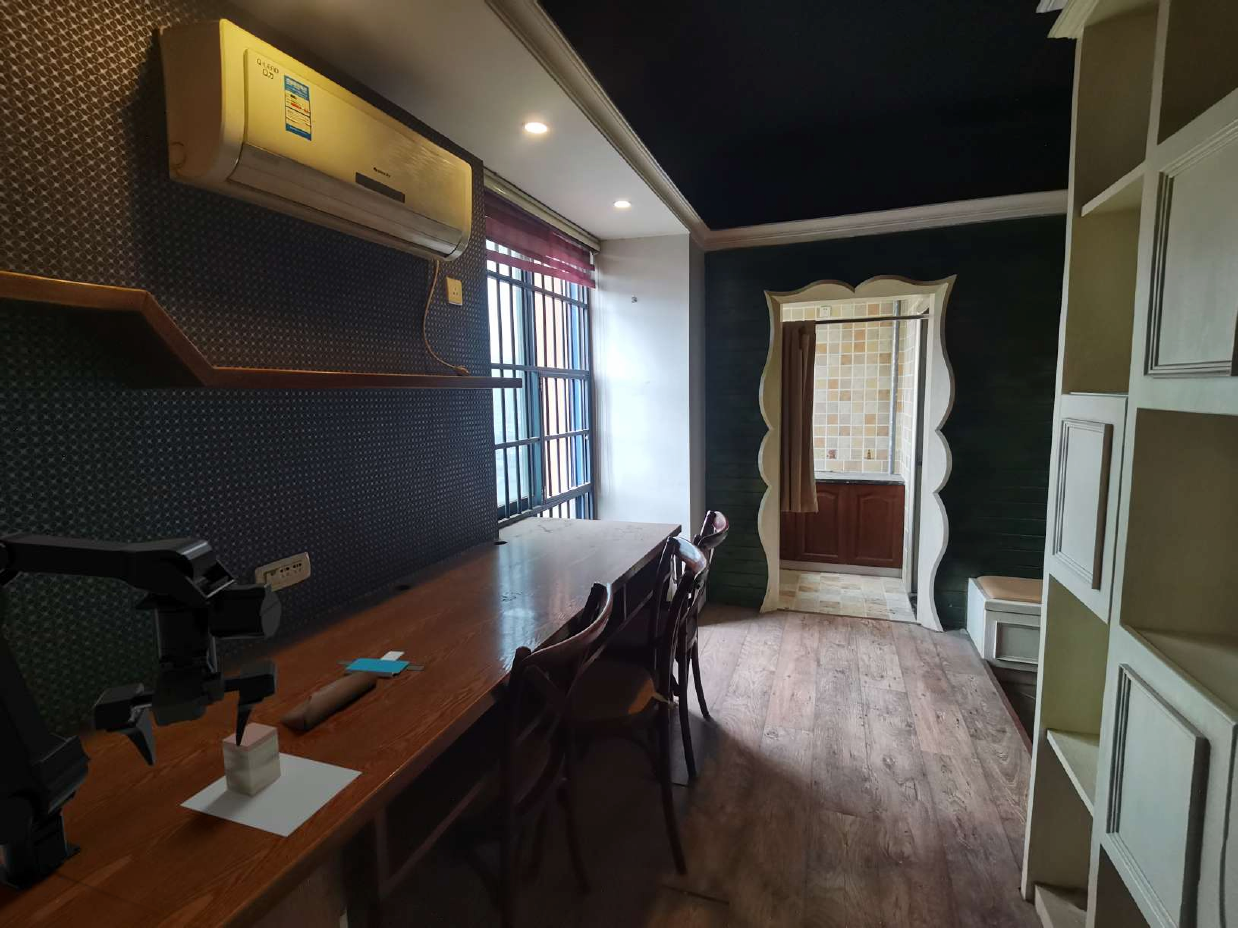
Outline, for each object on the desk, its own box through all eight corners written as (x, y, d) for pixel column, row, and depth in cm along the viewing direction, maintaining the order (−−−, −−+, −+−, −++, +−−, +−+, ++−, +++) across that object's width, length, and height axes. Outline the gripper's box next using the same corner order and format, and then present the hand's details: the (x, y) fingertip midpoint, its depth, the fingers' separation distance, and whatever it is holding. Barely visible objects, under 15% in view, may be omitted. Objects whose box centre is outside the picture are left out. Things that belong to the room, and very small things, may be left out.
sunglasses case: (344, 678, 122) (356, 654, 121) (369, 699, 121) (381, 675, 119) (270, 726, 105) (282, 699, 104) (298, 750, 104) (311, 723, 102)
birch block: (227, 789, 88) (222, 740, 87) (256, 769, 93) (252, 722, 92) (252, 796, 86) (247, 746, 85) (281, 775, 91) (276, 727, 90)
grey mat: (180, 807, 85) (179, 805, 85) (265, 751, 98) (265, 748, 98) (286, 839, 79) (286, 836, 79) (362, 774, 92) (362, 772, 92)
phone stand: (437, 657, 134) (437, 650, 133) (411, 683, 122) (410, 675, 122) (357, 652, 137) (357, 645, 136) (324, 676, 125) (323, 669, 125)
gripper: (65, 683, 63) (80, 817, 65) (267, 650, 71) (276, 769, 73) (99, 644, 73) (112, 760, 74) (273, 618, 81) (280, 724, 83)
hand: (196, 754), depth 76 cm, fingers open, 9 cm apart
